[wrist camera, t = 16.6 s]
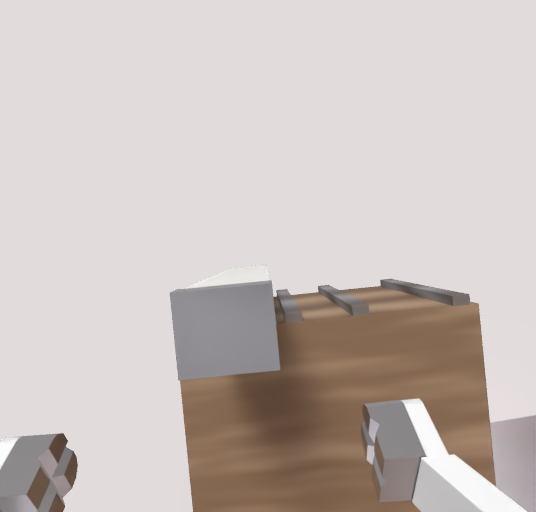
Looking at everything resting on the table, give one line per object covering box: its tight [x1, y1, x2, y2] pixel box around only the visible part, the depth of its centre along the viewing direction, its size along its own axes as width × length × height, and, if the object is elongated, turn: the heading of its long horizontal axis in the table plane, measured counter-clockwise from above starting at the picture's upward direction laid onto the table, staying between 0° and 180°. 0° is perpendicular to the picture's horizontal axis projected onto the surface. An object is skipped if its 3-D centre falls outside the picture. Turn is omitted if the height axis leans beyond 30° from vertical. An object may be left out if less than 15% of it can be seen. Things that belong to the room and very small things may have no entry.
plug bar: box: [170, 265, 280, 380], centre depth 25 cm, size 23×4×3 cm, turn 1°
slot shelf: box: [180, 279, 496, 512], centre depth 30 cm, size 14×18×27 cm
